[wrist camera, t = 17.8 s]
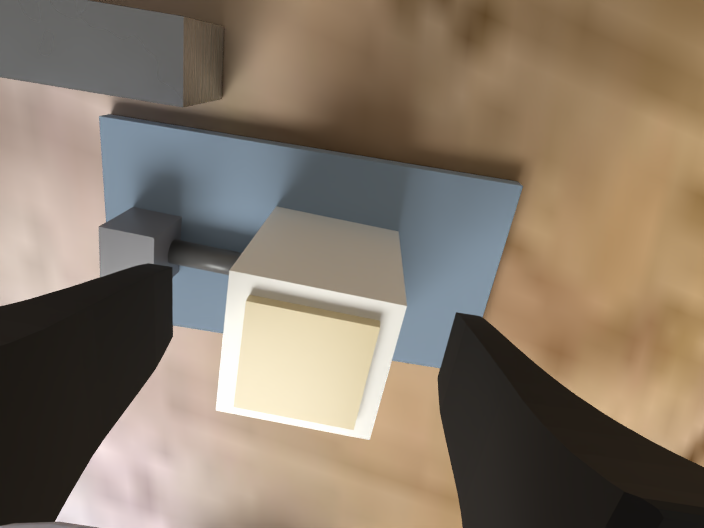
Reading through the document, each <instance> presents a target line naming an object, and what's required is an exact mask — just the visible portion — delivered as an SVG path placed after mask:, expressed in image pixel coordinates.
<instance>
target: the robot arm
mask: <svg viewBox="0 0 704 528" xmlns="http://www.w3.org/2000/svg"><path fill="white" fill-rule="evenodd" d="M172 337H173V283H172V267H169V266H163V265H156V264H150V263H147V264H142V265H138V266H134V267H130V268H127V269H124V270H121V271H118V272H115V273H112V274H109V275H106V276H103V277H100V278H97V279H94V280H91V281H88V282H85V283H82V284H79V285H75V286H72V287H69V288H66V289H62V290H59V291H55V292H52V293H49V294H45V295H42V296H39V297H35V298H32V299H28V300H25V301H21V302H17V303H13V304H9V305H5V306H0V528H97V527H90V526H84V525H77V524H70V523H64V522H55V520H56V518H57V516H58V515H59V513H60V511H61V509H62V507H63V506H64V504H65V502H66V500H67V498H68V497H69V495H70V493H71V491H72V490H73V488H74V486H75V485H76V483H77V481H78V480H79V478H80V476H81V474H82V473H83V471H84V469H85V468H86V466H87V464H88V463H89V461H90V459H91V458H92V456H93V454H94V453H95V451H96V450H97V449H98V447H99V446H100V444H101V443H102V441H103V440H104V438H105V437H106V436H107V434H108V433H109V432H110V430H111V429H112V427H113V426H114V425H115V423H116V422H117V421H118V419H119V418H120V417H121V415H122V414H123V413H124V411H125V410H126V409H127V407H128V406H129V405H130V403H131V402H132V401H133V399H134V398H135V397H136V395H137V394H138V392H139V391H140V390H141V388H142V387H143V386H144V384H145V383H146V381H147V380H148V379H149V377H150V376H151V375H152V373H153V372H154V370H155V369H156V367H157V365H158V364H159V362H160V360H161V358H162V356H163V355H164V353H165V351H166V349H167V347H168V345H169V343H170V341H171V339H172ZM438 392H439V405H440V414H441V419H442V424H443V429H444V433H445V438H446V443H447V447H448V452H449V456H450V461H451V465H452V470H453V474H454V479H455V483H456V488H457V492H458V498H459V503H460V509H461V516H462V525H463V528H704V467H702V466H700V465H698V464H696V463H694V462H692V461H690V460H687V459H685V458H683V457H681V456H679V455H677V454H675V453H673V452H671V451H669V450H667V449H665V448H663V447H661V446H659V445H658V444H656V443H654V442H652V441H650V440H648V439H646V438H645V437H643V436H641V435H639V434H638V433H636V432H634V431H632V430H631V429H629V428H627V427H625V426H624V425H622V424H620V423H618V422H617V421H615V420H613V419H612V418H610V417H608V416H607V415H605V414H604V413H602V412H601V411H599V410H598V409H596V408H595V407H593V406H592V405H590V404H589V403H587V402H586V401H584V400H583V399H581V398H580V397H578V396H577V395H575V394H574V393H572V392H571V391H570V390H568V389H567V388H566V387H564V386H563V385H562V384H560V383H559V382H558V381H557V380H555V379H554V378H553V377H551V376H550V375H549V374H548V373H546V372H545V371H544V370H543V369H541V368H540V367H539V366H538V365H537V364H535V363H534V362H533V361H532V360H531V359H529V358H528V357H527V356H526V355H525V354H524V353H523V352H521V351H520V350H519V349H518V348H517V347H516V346H515V345H513V344H512V343H511V342H510V341H509V340H508V339H507V338H506V337H505V336H503V335H502V334H501V333H500V332H499V331H498V330H497V329H496V328H494V327H493V326H492V325H491V324H490V323H489V322H487V321H486V320H485V319H483V318H482V317H481V316H477V315H470V314H464V313H458V312H456V314H455V318H454V321H453V325H452V328H451V332H450V336H449V339H448V343H447V346H446V350H445V353H444V357H443V361H442V364H441V368H440V371H439V375H438Z"/></svg>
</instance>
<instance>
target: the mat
mask: <svg viewBox="0 0 704 528" xmlns="http://www.w3.org/2000/svg"><path fill="white" fill-rule="evenodd" d="M99 121H100V136H101V151H102V166H103V181H104V197H105V212H106V222H108V221H109V220H111V219H113V218H115V217H116V216H118V215H120V214H122V213H123V212H125V211H127V210H129V209H130V208H132V207H136V208H141V209H146V210H151V211H156V212H161V213H166V214H171V215H175V216H180V217H182V222H181V240H182V241H186V242H191V243H196V244H201V245H206V246H211V247H216V248H221V249H226V250H231V251H236V252H241V253H242V252H243V251H244V250H245V248H246V247H247V246H248V244H249V243H250V241H251V240H252V239H253V237H254V236H255V235H256V233H257V232H258V231H259V229H260V228H261V226H262V225H263V224H264V222H265V221H266V220H267V218H268V217H269V215H270V214H271V213H272V211H273V210H274V209H275V207H276V206H277V207H282V208H286V209H291V210H296V211H301V212H306V213H311V214H316V215H321V216H325V217H330V218H335V219H340V220H345V221H350V222H355V223H359V224H364V225H369V226H374V227H379V228H384V229H389V230H394V231H398V232H399V240H400V249H401V258H402V267H403V275H404V284H405V293H406V302H407V308H406V311H405V315H404V319H403V322H402V326H401V329H400V333H399V336H398V340H397V344H396V347H395V351H394V354H393V358H392V361H398V362H405V363H411V364H417V365H423V366H430V367H436V368H441V364H442V361H443V357H444V353H445V350H446V346H447V343H448V339H449V336H450V332H451V328H452V325H453V321H454V318H455V314H456V312H458V313H464V314H470V315H477V316H481V317H483V314H484V311H485V308H486V304H487V301H488V298H489V295H490V291H491V288H492V285H493V282H494V278H495V275H496V272H497V269H498V265H499V262H500V259H501V256H502V252H503V249H504V246H505V243H506V239H507V236H508V233H509V230H510V226H511V223H512V220H513V217H514V213H515V210H516V207H517V204H518V201H519V197H520V194H521V191H522V188H523V186H522V185H521V184H520V183H519V182H517V181H511V180H505V179H499V178H493V177H487V176H481V175H475V174H469V173H463V172H457V171H451V170H445V169H439V168H433V167H427V166H421V165H414V164H408V163H402V162H396V161H390V160H384V159H378V158H372V157H366V156H360V155H354V154H348V153H342V152H336V151H330V150H324V149H318V148H311V147H305V146H299V145H293V144H287V143H281V142H275V141H269V140H263V139H257V138H251V137H245V136H239V135H233V134H227V133H221V132H215V131H208V130H202V129H196V128H190V127H184V126H178V125H172V124H166V123H160V122H154V121H148V120H142V119H136V118H130V117H124V116H118V115H112V114H108V115H103V116H99ZM228 280H229V275H225V274H220V273H215V272H210V271H205V270H200V269H195V268H190V267H185V266H180V265H179V272H178V273H177V274H176V275H175V276H174V277H173V278H172V283H173V325H174V326H180V327H187V328H193V329H199V330H205V331H211V332H218V333H223V331H224V321H225V310H226V300H227V290H228Z"/></svg>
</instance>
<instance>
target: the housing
mask: <svg viewBox="0 0 704 528" xmlns="http://www.w3.org/2000/svg"><path fill="white" fill-rule="evenodd" d="M223 46H224V26H220V25H216V24H212V23H208V22H204V21H200V20H196V19H192V18H188V17H184V16H178V15H172V14H166V13H160V12H154V11H148V10H142V9H136V8H130V7H124V6H118V5H112V4H106V3H101V2H95V1H89V0H0V77H2V78H8V79H14V80H20V81H26V82H33V83H39V84H45V85H51V86H57V87H63V88H69V89H75V90H81V91H87V92H93V93H99V94H105V95H111V96H117V97H123V98H129V99H135V100H141V101H147V102H153V103H159V104H165V105H172V106H178V107H188V106H192V105H197V104H201V103H206V102H211V101H215V100H220V99H222V73H223Z"/></svg>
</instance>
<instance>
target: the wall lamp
mask: <svg viewBox="0 0 704 528" xmlns="http://www.w3.org/2000/svg"><path fill="white" fill-rule="evenodd" d="M181 222H182V217H180V216H175V215H171V214H166V213H161V212H156V211H151V210H146V209H141V208H136V207H132V208H130V209H129V210H127V211H125V212H123V213H122V214H120V215H118V216H116V217H115V218H113V219H111V220H109V221H108V222H106V223H104V224H102V225H101V226H99V253H100V277H103V276H106V275H109V274H112V273H115V272H118V271H121V270H124V269H127V268H130V267H134V266H138V265H142V264H147V263H150V264H156V265H163V266H169V267H172V278H173V277H174V276H175V275H176V274H177V273H178V272H179V265H180V266H185V267H190V268H195V269H200V270H205V271H210V272H215V273H220V274H225V275H229V280H228V290H227V300H226V310H225V321H224V331H223V341H222V351H221V362H220V372H219V382H218V392H217V403H216V411H222V412H227V413H232V414H237V415H242V416H248V417H253V418H258V419H263V420H268V421H274V422H279V423H284V424H289V425H294V426H300V427H305V428H310V429H315V430H320V431H326V432H331V433H336V434H341V435H346V436H352V437H357V438H362V439H367V440H370V437H371V433H372V429H373V426H374V422H375V419H376V415H377V412H378V408H379V404H380V401H381V397H382V394H383V390H384V386H385V383H386V379H387V376H388V372H389V369H390V365H391V361H392V358H393V354H394V351H395V347H396V344H397V340H398V336H399V333H400V329H401V326H402V322H403V319H404V315H405V311H406V308H407V302H406V293H405V284H404V275H403V267H402V258H401V249H400V240H399V232H398V231H394V230H389V229H384V228H379V227H374V226H369V225H364V224H359V223H355V222H350V221H345V220H340V219H335V218H330V217H325V216H321V215H316V214H311V213H306V212H301V211H296V210H291V209H286V208H282V207H277V206H276V207H275V209H274V210H273V211H272V213H271V214H270V215H269V217H268V218H267V220H266V221H265V222H264V224H263V225H262V226H261V228H260V229H259V231H258V232H257V233H256V235H255V236H254V237H253V239H252V240H251V241H250V243H249V244H248V246H247V247H246V248H245V250H244V251H243V252H242V253H241V252H236V251H231V250H226V249H221V248H216V247H211V246H206V245H201V244H196V243H191V242H186V241H182V240H181Z"/></svg>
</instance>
